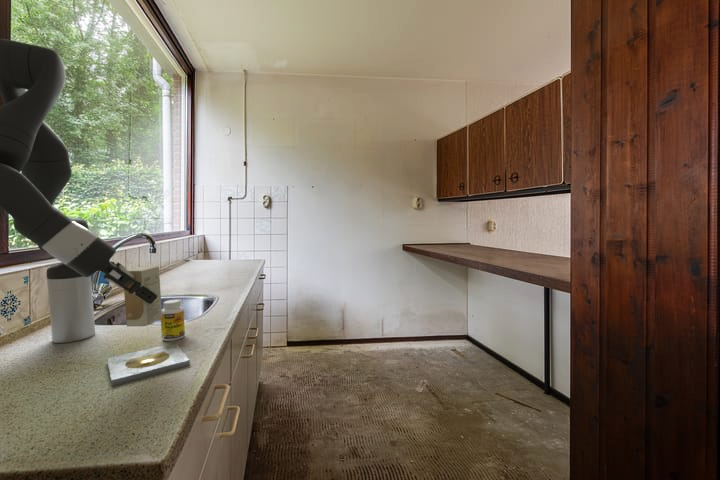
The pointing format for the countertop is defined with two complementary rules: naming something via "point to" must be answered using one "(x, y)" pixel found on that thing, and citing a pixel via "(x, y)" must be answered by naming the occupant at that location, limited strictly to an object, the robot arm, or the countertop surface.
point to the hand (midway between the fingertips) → (151, 297)
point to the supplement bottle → (172, 321)
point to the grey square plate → (146, 363)
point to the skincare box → (137, 307)
